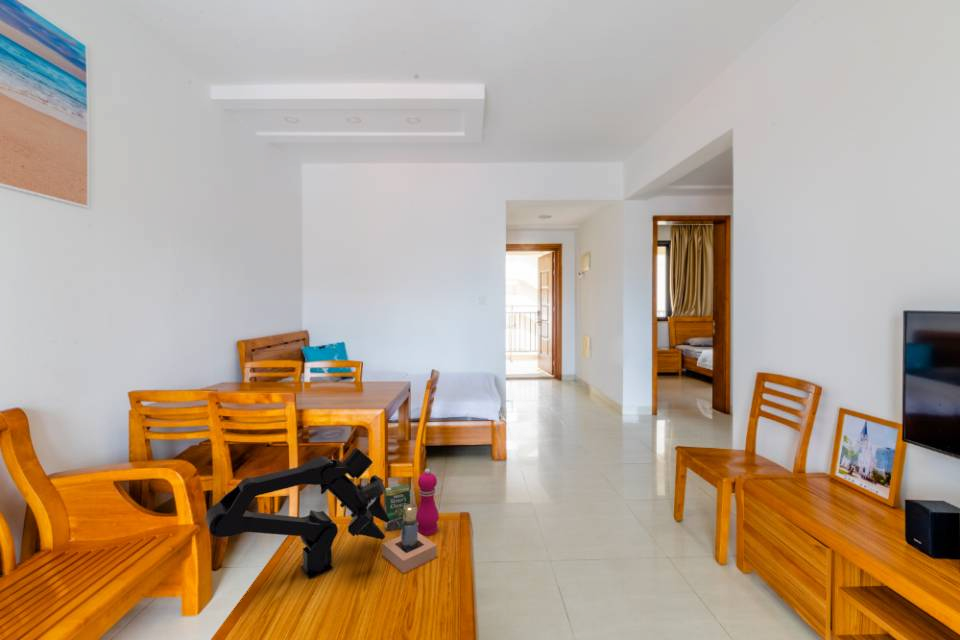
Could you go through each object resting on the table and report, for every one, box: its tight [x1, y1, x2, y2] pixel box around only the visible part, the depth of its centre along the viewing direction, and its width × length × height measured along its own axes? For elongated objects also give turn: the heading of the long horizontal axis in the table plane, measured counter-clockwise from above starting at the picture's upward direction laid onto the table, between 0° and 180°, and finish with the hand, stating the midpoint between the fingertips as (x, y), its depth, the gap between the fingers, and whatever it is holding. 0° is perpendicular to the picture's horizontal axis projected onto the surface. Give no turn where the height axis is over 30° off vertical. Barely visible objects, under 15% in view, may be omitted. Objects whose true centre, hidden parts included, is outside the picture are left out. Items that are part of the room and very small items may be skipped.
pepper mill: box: [416, 468, 440, 536], centre depth 139 cm, size 7×7×20 cm
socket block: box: [382, 533, 438, 574], centre depth 125 cm, size 11×11×4 cm
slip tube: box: [400, 503, 418, 553], centre depth 125 cm, size 5×5×14 cm
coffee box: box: [383, 483, 411, 532], centre depth 141 cm, size 8×3×13 cm, turn 111°
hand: (386, 529), depth 124 cm, fingers open, 9 cm apart
